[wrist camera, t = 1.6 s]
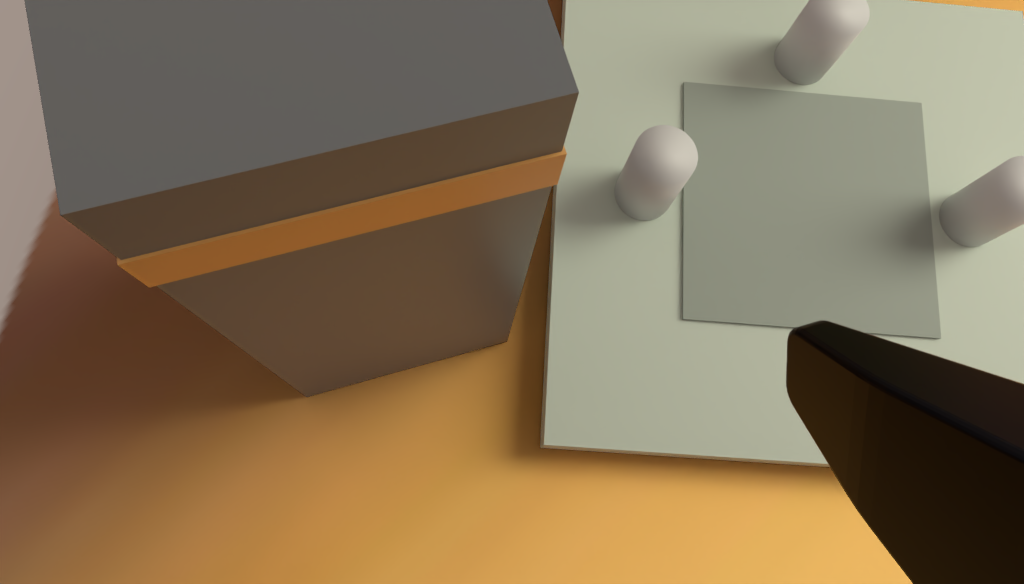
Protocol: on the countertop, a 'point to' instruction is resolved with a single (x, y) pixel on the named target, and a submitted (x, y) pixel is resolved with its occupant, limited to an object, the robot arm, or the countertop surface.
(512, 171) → the plug block
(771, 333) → the board
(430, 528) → the countertop surface
